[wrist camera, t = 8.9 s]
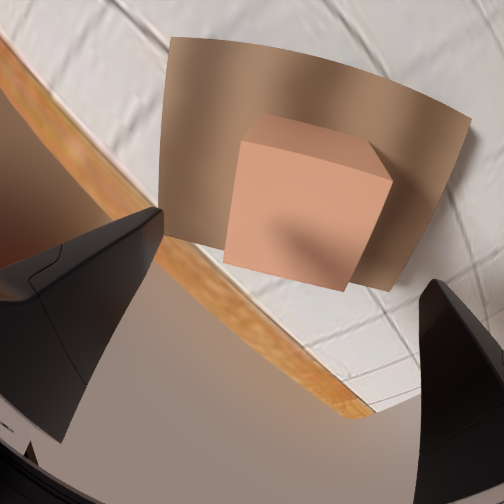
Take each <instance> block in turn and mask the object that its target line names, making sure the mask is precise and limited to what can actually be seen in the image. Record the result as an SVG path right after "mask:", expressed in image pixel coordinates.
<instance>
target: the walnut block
mask: <svg viewBox="0 0 504 504" xmlns="http://www.w3.org/2000/svg"><path fill="white" fill-rule="evenodd" d="M263 114H269V115H274V116H278V117H283V118H287V119H292V120H296V121H300V122H304V123H308V124H312V125H316V126H320V127H323V128H327V129H331V130H334V131H338V132H341V133H344V134H348V135H351V136H354V137H358V138H361V139H364V140H367V141H368V142H369V143H370V145H371V146H372V148H373V150H374V151H375V153H376V154H377V156H378V157H379V159H380V161H381V162H382V164H383V165H384V167H385V169H386V170H387V172H388V174H389V175H390V177H391V179H392V180H393V183H392V186H391V188H390V191H389V193H388V196H387V198H386V201H385V203H384V206H383V208H382V210H381V213H380V215H379V217H378V220H377V222H376V224H375V227H374V229H373V231H372V233H371V236H370V238H369V240H368V242H367V245H366V247H365V249H364V251H363V253H362V255H361V258H360V260H359V262H358V264H357V266H356V268H355V270H354V272H353V274H352V276H351V278H350V280H349V282H351V283H355V284H359V285H363V286H367V287H371V288H375V289H379V290H383V291H387V292H390V290H391V289H392V287H393V285H394V284H395V282H396V280H397V279H398V277H399V275H400V274H401V272H402V270H403V268H404V267H405V265H406V263H407V261H408V260H409V258H410V256H411V254H412V253H413V251H414V249H415V247H416V245H417V243H418V242H419V240H420V238H421V236H422V234H423V232H424V230H425V228H426V226H427V224H428V222H429V220H430V218H431V216H432V214H433V212H434V210H435V208H436V206H437V204H438V202H439V200H440V197H441V195H442V193H443V191H444V189H445V186H446V184H447V182H448V180H449V177H450V175H451V173H452V170H453V168H454V165H455V163H456V161H457V158H458V156H459V153H460V150H461V148H462V145H463V143H464V140H465V137H466V134H467V132H468V129H469V126H470V123H471V120H472V119H471V118H469V117H467V116H466V115H464V114H462V113H460V112H458V111H456V110H454V109H453V108H451V107H449V106H447V105H445V104H443V103H441V102H439V101H437V100H435V99H433V98H430V97H428V96H426V95H424V94H422V93H420V92H417V91H415V90H413V89H410V88H408V87H406V86H403V85H401V84H398V83H396V82H393V81H391V80H388V79H386V78H383V77H380V76H377V75H375V74H372V73H369V72H366V71H363V70H360V69H357V68H354V67H351V66H348V65H344V64H341V63H337V62H334V61H330V60H327V59H323V58H319V57H315V56H311V55H307V54H303V53H299V52H294V51H289V50H284V49H279V48H274V47H268V46H262V45H256V44H250V43H242V42H234V41H226V40H215V39H203V38H185V37H171V40H170V47H169V55H168V62H167V70H166V79H165V89H164V99H163V111H162V124H161V139H160V159H159V193H158V208H160V209H162V210H163V211H164V235H166V236H170V237H174V238H177V239H181V240H185V241H189V242H193V243H197V244H201V245H205V246H209V247H212V248H216V249H220V250H224V251H225V244H226V237H227V230H228V223H229V216H230V209H231V202H232V195H233V189H234V182H235V176H236V169H237V163H238V157H239V150H240V144H241V140H242V139H243V138H244V137H245V135H246V134H247V133H248V132H249V131H250V129H251V128H252V127H253V126H254V125H255V123H256V122H257V121H258V120H259V119H260V117H261V116H262V115H263Z"/></svg>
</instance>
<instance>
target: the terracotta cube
mask: <svg viewBox="0 0 504 504" xmlns="http://www.w3.org/2000/svg"><path fill="white" fill-rule="evenodd" d="M392 183H393V180H392V179H391V177H390V175H389V174H388V172H387V170H386V169H385V167H384V165H383V164H382V162H381V161H380V159H379V157H378V156H377V154H376V153H375V151H374V150H373V148H372V146H371V145H370V143H369V142H368V141H367V140H364V139H361V138H358V137H354V136H351V135H348V134H344V133H341V132H338V131H334V130H331V129H327V128H323V127H320V126H316V125H312V124H308V123H304V122H300V121H296V120H292V119H287V118H283V117H278V116H274V115H269V114H263V115H262V116H261V117H260V119H259V120H258V121H257V122H256V123H255V125H254V126H253V127H252V128H251V129H250V131H249V132H248V133H247V134H246V135H245V137H244V138H243V139H242V140H241V144H240V150H239V157H238V163H237V169H236V176H235V182H234V189H233V195H232V202H231V209H230V216H229V223H228V230H227V237H226V244H225V251H224V258H223V263H225V264H229V265H233V266H237V267H242V268H246V269H250V270H254V271H258V272H262V273H266V274H270V275H274V276H278V277H282V278H287V279H291V280H295V281H299V282H303V283H308V284H312V285H316V286H320V287H324V288H329V289H333V290H337V291H342V292H344V290H345V288H346V286H347V284H348V282H349V280H350V278H351V276H352V274H353V272H354V270H355V268H356V266H357V264H358V262H359V260H360V258H361V255H362V253H363V251H364V249H365V247H366V245H367V242H368V240H369V238H370V236H371V233H372V231H373V229H374V227H375V224H376V222H377V220H378V217H379V215H380V213H381V210H382V208H383V206H384V203H385V201H386V198H387V196H388V193H389V191H390V188H391V186H392Z"/></svg>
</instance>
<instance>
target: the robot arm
mask: <svg viewBox="0 0 504 504" xmlns="http://www.w3.org/2000/svg"><path fill="white" fill-rule="evenodd" d="M163 235H164V211H163V210H162V209H160V208H155V207H149V208H147V209H144V210H141V211H139V212H136V213H134V214H131V215H128V216H126V217H123V218H121V219H118V220H116V221H113V222H111V223H108V224H106V225H104V226H101V227H99V228H96V229H94V230H91V231H89V232H87V233H84V234H82V235H80V236H77V237H75V238H73V239H70V240H68V241H66V242H64V243H63V244H59V245H57V246H55V247H53V248H50V249H48V250H46V251H44V252H41V253H39V254H37V255H34V256H32V257H29V258H27V259H24V260H22V261H20V262H17V263H15V264H12V265H10V266H7V267H5V268H2V269H0V504H105V503H102V502H100V501H98V500H96V499H94V498H92V497H90V496H88V495H86V494H84V493H83V492H81V491H79V490H77V489H75V488H73V487H71V486H70V485H68V484H66V483H65V482H63V481H61V480H60V479H58V478H56V477H55V476H53V475H51V474H50V473H48V472H47V471H45V470H43V469H42V468H41V467H39V465H38V462H37V459H36V456H35V453H34V450H33V447H32V444H31V438H32V436H33V433H34V432H35V430H36V429H38V430H39V431H41V432H43V433H44V434H46V435H47V436H49V437H50V438H52V439H54V440H55V441H57V442H59V443H60V444H61V443H62V441H63V439H64V437H65V434H66V432H67V429H68V427H69V425H70V422H71V420H72V418H73V416H74V413H75V411H76V409H77V407H78V404H79V402H80V400H81V398H82V396H83V393H84V391H85V389H86V387H87V385H88V382H89V380H90V378H91V376H92V374H93V372H94V370H95V368H96V366H97V364H98V362H99V360H100V358H101V356H102V354H103V352H104V350H105V348H106V346H107V344H108V343H109V341H110V338H111V337H112V335H113V333H114V331H115V329H116V327H117V325H118V324H119V322H120V320H121V318H122V316H123V314H124V313H125V311H126V309H127V307H128V306H129V304H130V302H131V300H132V298H133V297H134V295H135V293H136V291H137V290H138V288H139V286H140V284H141V283H142V281H143V279H144V277H145V275H146V274H147V271H148V269H149V267H150V265H151V262H152V260H153V258H154V256H155V254H156V251H157V249H158V247H159V245H160V243H161V241H162V238H163ZM419 350H420V367H421V434H420V450H419V460H418V470H417V479H416V487H415V494H414V501H413V504H504V350H503V349H501V347H500V345H499V344H498V343H497V342H496V340H495V339H494V338H493V337H492V336H491V334H490V333H489V332H488V331H487V330H486V328H485V327H484V326H483V325H482V324H481V322H480V321H479V320H478V319H477V318H476V317H475V316H474V314H473V313H472V312H471V311H470V310H469V309H468V308H467V306H466V305H465V304H464V303H463V302H462V301H461V300H460V299H459V298H458V297H457V296H456V294H455V293H454V292H453V291H452V290H451V289H450V288H449V287H448V286H447V285H446V284H445V283H444V282H443V281H441V280H437V279H432V280H431V281H430V282H429V284H428V285H427V287H426V288H425V290H424V291H423V293H422V294H421V296H420V299H419Z"/></svg>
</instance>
